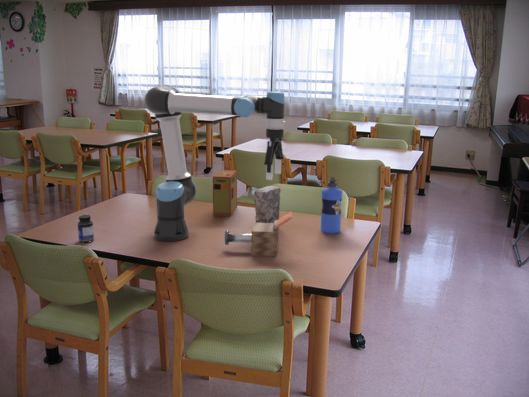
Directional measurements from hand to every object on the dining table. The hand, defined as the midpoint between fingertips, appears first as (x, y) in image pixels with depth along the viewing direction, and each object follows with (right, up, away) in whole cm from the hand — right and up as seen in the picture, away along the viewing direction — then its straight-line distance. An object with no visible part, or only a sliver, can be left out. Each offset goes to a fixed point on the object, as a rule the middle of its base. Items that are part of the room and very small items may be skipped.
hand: (273, 176), depth 235 cm
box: (-24, -16, +42) cm, 51 cm away
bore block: (-4, -31, -16) cm, 35 cm away
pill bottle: (-80, -28, -6) cm, 85 cm away
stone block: (-3, -24, +11) cm, 27 cm away
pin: (-11, -29, -16) cm, 35 cm away
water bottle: (+26, -25, +11) cm, 38 cm away
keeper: (+4, -19, -20) cm, 28 cm away
